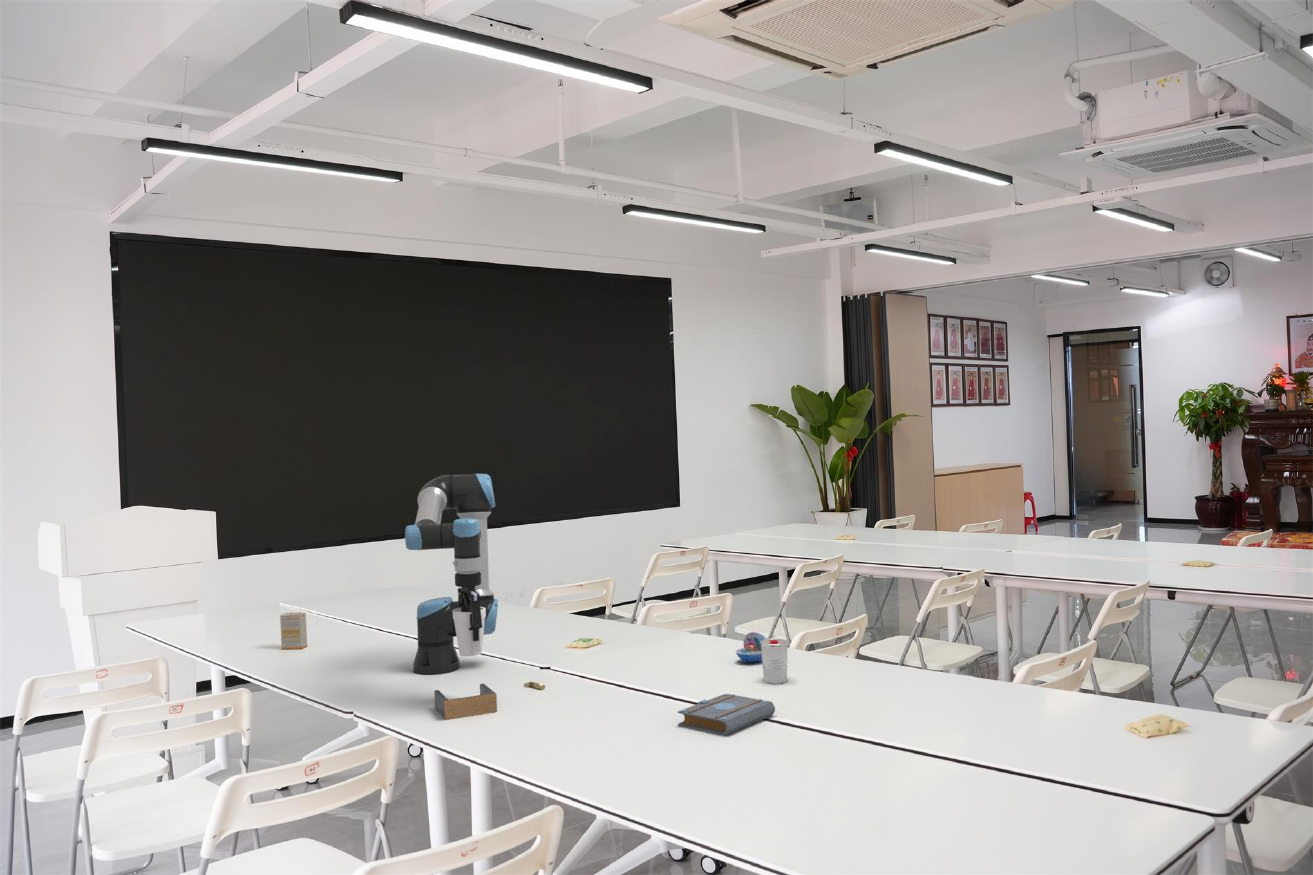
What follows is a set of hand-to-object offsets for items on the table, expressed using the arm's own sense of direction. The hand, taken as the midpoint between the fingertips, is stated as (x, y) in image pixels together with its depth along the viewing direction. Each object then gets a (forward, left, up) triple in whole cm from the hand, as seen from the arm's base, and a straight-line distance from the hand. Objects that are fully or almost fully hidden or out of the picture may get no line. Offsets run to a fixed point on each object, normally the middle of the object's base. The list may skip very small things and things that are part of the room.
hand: (470, 648), depth 283 cm
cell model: (+4, +93, -15) cm, 94 cm away
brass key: (-3, +21, -15) cm, 26 cm away
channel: (+8, -4, -15) cm, 18 cm away
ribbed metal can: (+29, +86, -15) cm, 92 cm away
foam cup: (0, 0, -2) cm, 2 cm away
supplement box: (-110, -39, -15) cm, 118 cm away
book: (+57, +53, -16) cm, 79 cm away
